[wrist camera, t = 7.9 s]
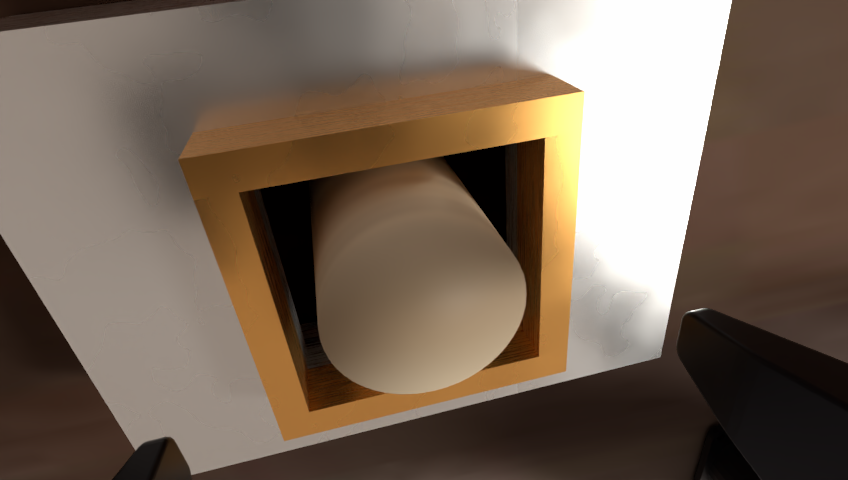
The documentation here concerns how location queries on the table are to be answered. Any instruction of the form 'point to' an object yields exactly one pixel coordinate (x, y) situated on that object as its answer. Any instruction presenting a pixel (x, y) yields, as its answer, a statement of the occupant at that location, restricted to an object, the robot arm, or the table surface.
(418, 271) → the birch peg
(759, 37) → the table surface
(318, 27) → the peg hole base
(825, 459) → the robot arm
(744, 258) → the table surface
